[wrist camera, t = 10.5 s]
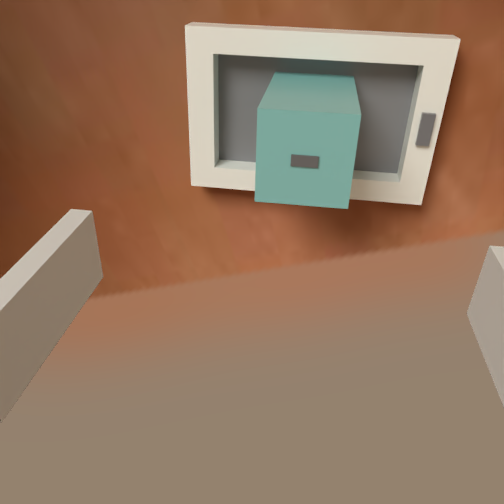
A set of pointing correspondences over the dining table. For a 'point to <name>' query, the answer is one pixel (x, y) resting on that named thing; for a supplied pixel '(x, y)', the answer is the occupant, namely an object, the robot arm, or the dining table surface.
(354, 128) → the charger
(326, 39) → the white shallow tray
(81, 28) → the dining table surface
